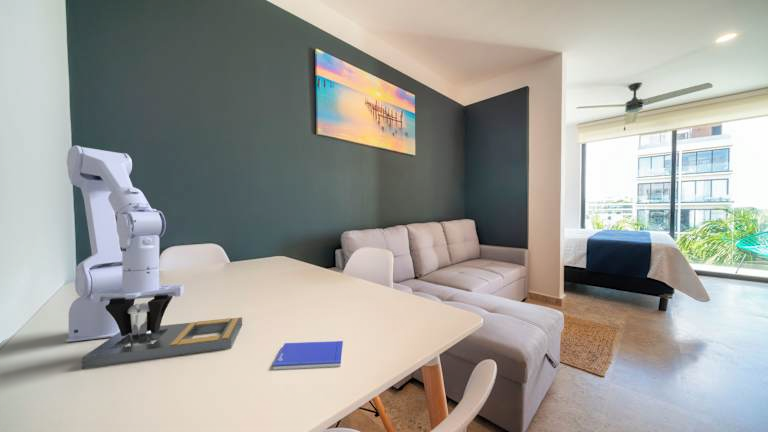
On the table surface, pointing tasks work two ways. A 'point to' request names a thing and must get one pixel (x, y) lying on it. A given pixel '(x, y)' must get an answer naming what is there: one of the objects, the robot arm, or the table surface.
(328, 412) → the table surface
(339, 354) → the hard drive
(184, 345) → the grey slotted plate
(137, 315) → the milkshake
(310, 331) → the table surface
